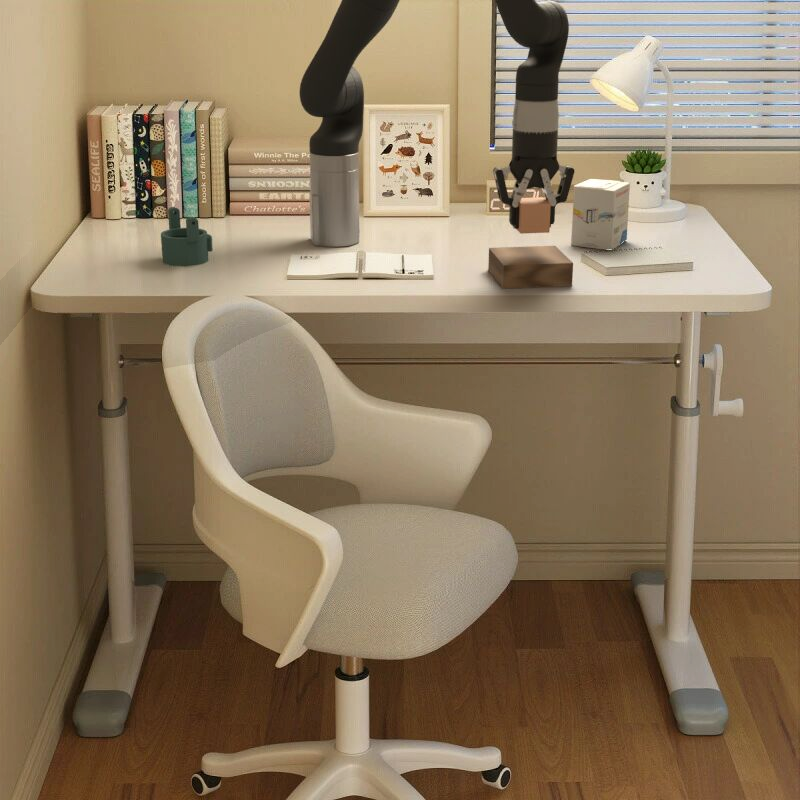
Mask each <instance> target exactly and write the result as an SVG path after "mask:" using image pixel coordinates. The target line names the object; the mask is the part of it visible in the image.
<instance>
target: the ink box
mask: <svg viewBox="0 0 800 800" xmlns="http://www.w3.org/2000/svg"><path fill="white" fill-rule="evenodd" d="M630 185H631V182H624V181H620V180H610V179H598V178H597V179H596V178H590V179H587V180H585V181H582V182H580V183H577V184H575V185H573V198H572V199H573V200H572V201H573V204H572V221H571V223H572V224H571V239H570V245H571V246H574V247H582V248H589V249H597V250H602V249H613V250H615V249H616V248H618V247H619V246H620V245H619V244H621V243H622V242H623V241H625V240H627V239H628V222H629V206H630V189H631V188H630V187H631V186H630ZM622 244H623V243H622ZM622 244H621V245H622ZM618 245H619V246H618ZM617 246H618V247H617ZM614 248H615V249H614Z"/></svg>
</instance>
